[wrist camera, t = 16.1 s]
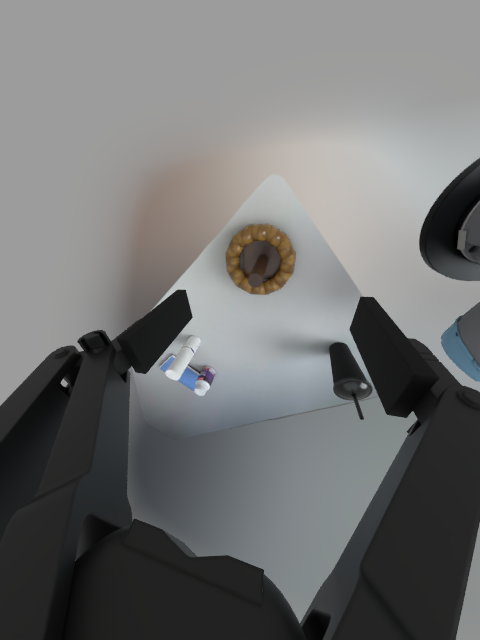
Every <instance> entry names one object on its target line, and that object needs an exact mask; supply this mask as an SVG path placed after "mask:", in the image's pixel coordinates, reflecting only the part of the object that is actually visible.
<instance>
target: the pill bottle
mask: <svg viewBox="0 0 480 640" xmlns="http://www.w3.org/2000/svg"><path fill="white" fill-rule="evenodd" d="M215 374H216V372H215V370H214V369H213V368H212V367H209V366H205V367H204V368H203V369H202V371H201V373H200V375H199V377H198V379H197V381H196V387H195V389H194V392H195V393H196V394H197V395H200V396H204V395H205V393H206V391H207V390H209V388H210V386H211V383H212V381H213V379H214V376H215Z"/></svg>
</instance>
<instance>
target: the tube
mask: <svg viewBox="0 0 480 640" xmlns="http://www.w3.org/2000/svg"><path fill="white" fill-rule="evenodd" d="M200 343H201V340H200V339H199V338H198V337H197V336H190V337H189V339H188V340H187V341H186V343H185V344H184V346H183V347H182V349H181V350H180V352H179V353H178V354H177V356H176V357H175V359H174V360H173V362H172V363H171V365H170V366H169V367H168V369H167V370H166V372H165V373H166V375H167V377H169V378H170V379H172V380H179V379H180V377H181V375H182V374H183V372H184V370H185V369H186V367H187V365H188V363H189V362H190V360H191V358H192V357H193V355H194V353H195V352H196V350H197V348H198V347H199V345H200Z"/></svg>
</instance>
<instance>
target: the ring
mask: <svg viewBox="0 0 480 640" xmlns="http://www.w3.org/2000/svg"><path fill="white" fill-rule="evenodd" d="M253 241H266V242H268V243H269V244H271V245H273V246H274V247H276V249H277V251H278V254H279V256H280V258H281V259H280V269H279V270H278V272H277V273H276V275H275V276H274V277H273V278H271V279H269V280H267V281H265V282H262V284H261V286H259V287H252V286H250V285H249V283H248V278H247V277H246V276H245V275H244V274H243V272H242V270H241V269H240V263H239V256H240V254H241V252H242V250H243V248H244V247H245V246H247V245H248V244H250V243H251V242H253ZM295 257H296V253H295V251H294V249H293V246H292V244H291V242H290V240H289V237H288V236H287V235H286V234H285V233H283V232H282V231H280V230H279V229H277V228H275V227H274V226H272V225H270V224H257V225H249V226H247V227H246V228H244V229H243V230H241V231H240V232H238V233H237V234H235V235H234V236H233V238H232V240H231V242H230V245H229V247H228V249H227V251H226V266H227V272H228V274H229V275H230V277H231V278H232V280H233V282H234V283H235V285H236V286H237V287H239V288H241V289H243V290H244V291H246V292H248V293H249V294H259V295H268V294H270V293H272V292H274V291H277V290H279V289H281V288H282V287H283V286H284V285H285V284H286V282H287V281H288V280H289V278H290V277H291V276H292V274H293V272H294V264H295Z"/></svg>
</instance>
